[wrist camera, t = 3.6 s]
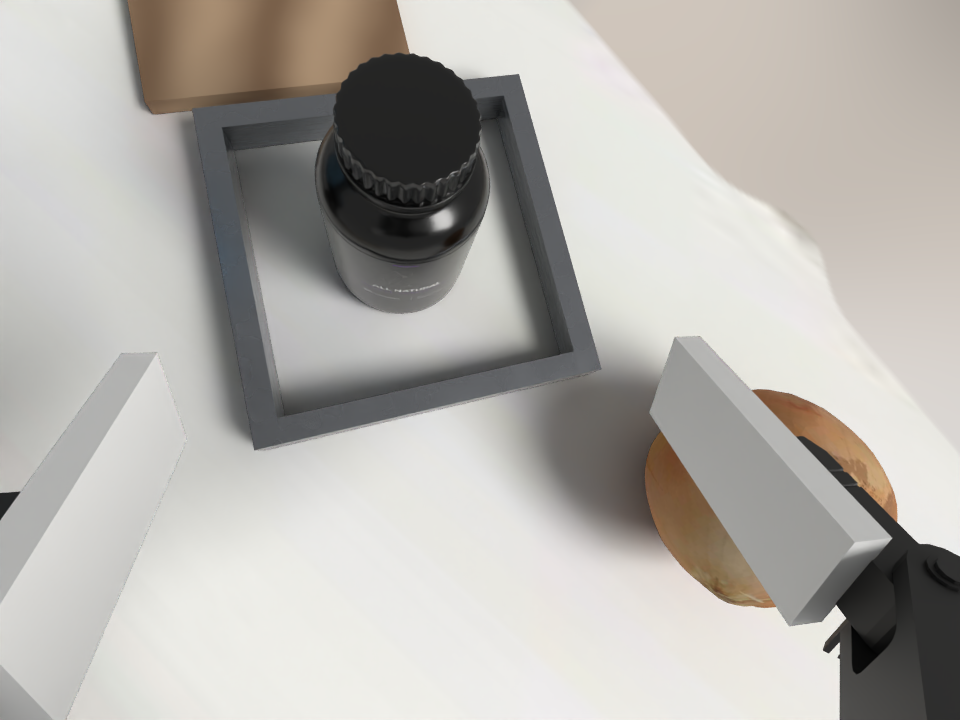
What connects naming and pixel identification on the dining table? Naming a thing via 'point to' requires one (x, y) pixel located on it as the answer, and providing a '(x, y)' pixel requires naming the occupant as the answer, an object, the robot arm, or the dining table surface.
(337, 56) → the walnut board
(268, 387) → the metal rim
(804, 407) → the onion
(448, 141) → the supplement bottle
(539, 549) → the dining table surface
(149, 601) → the dining table surface
